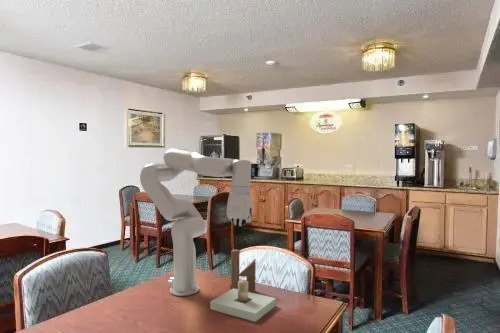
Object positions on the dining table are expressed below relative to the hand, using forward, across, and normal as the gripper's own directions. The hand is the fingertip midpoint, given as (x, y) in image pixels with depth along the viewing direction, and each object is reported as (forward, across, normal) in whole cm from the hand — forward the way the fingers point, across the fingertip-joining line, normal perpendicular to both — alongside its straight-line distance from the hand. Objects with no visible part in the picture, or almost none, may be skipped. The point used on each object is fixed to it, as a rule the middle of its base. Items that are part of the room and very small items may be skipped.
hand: (238, 235), depth 141 cm
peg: (+27, +6, -4) cm, 28 cm away
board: (+27, +6, -4) cm, 28 cm away
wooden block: (+27, -3, +10) cm, 29 cm away
